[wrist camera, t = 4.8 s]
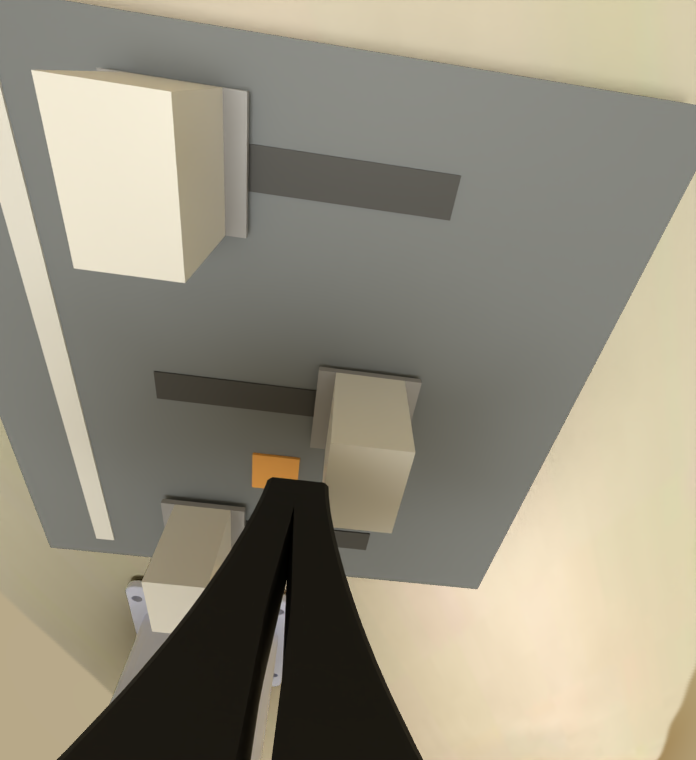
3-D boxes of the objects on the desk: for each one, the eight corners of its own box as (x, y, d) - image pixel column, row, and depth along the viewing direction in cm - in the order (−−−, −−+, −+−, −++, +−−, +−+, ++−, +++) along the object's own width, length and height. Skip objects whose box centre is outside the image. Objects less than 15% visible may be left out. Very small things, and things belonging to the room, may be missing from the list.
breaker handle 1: (247, 236, 11) (212, 286, 8) (122, 218, 11) (45, 264, 8) (248, 91, 9) (205, 96, 7) (101, 67, 9) (-5, 64, 6)
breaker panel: (470, 558, 21) (477, 591, 19) (70, 517, 20) (48, 549, 18) (684, 106, 11) (730, 110, 9) (-107, -24, 10) (-181, -41, 8)
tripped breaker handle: (400, 453, 15) (409, 535, 12) (310, 443, 15) (299, 523, 12) (421, 379, 13) (436, 454, 11) (319, 366, 13) (309, 440, 10)
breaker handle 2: (245, 556, 18) (225, 638, 16) (170, 548, 18) (137, 630, 15) (245, 507, 17) (224, 589, 14) (162, 498, 16) (124, 580, 14)
